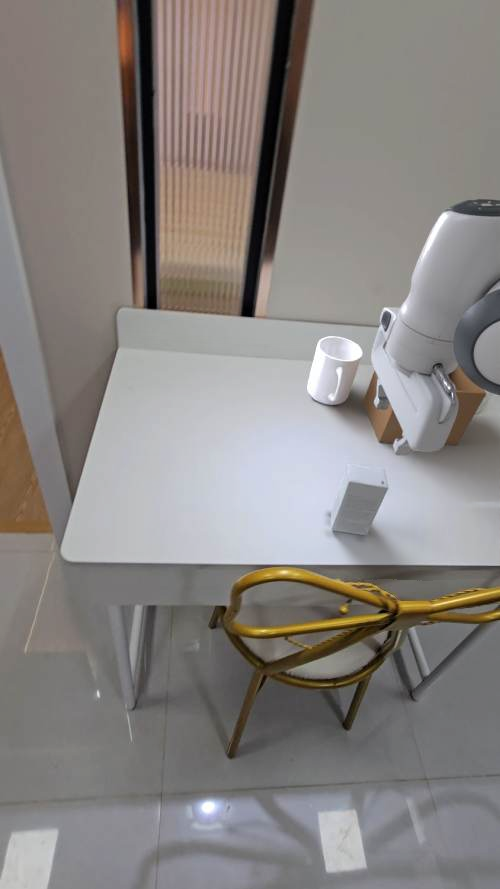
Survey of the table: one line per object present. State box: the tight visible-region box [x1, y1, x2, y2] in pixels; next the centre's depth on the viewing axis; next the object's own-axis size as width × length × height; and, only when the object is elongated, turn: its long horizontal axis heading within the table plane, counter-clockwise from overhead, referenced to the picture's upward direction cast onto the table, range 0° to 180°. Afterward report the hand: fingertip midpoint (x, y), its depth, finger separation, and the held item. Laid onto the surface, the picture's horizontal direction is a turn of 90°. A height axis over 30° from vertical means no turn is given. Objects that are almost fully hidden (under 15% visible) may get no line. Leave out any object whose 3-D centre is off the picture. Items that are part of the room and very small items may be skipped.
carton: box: [362, 364, 487, 446], centre depth 97 cm, size 17×13×14 cm
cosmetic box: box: [330, 463, 389, 536], centre depth 75 cm, size 6×4×12 cm
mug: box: [306, 335, 363, 406], centre depth 101 cm, size 10×12×12 cm
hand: (389, 428), depth 67 cm, fingers open, 8 cm apart
